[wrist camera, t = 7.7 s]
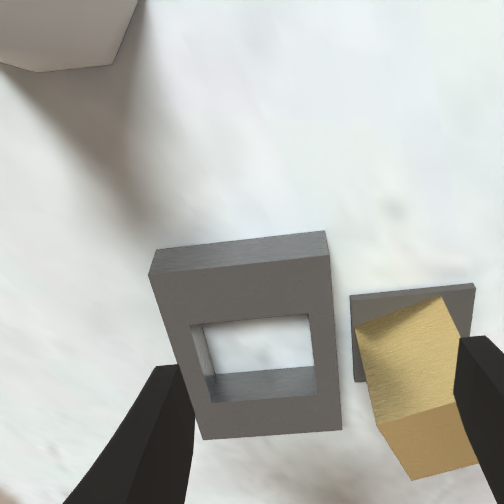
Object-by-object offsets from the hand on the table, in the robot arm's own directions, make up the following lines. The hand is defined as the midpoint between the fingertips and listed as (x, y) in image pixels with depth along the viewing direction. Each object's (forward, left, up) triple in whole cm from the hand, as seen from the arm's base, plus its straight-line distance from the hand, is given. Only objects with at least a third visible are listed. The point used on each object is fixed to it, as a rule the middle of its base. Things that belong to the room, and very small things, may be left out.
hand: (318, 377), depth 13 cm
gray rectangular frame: (+3, +8, -10) cm, 13 cm away
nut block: (-5, +9, -10) cm, 14 cm away
